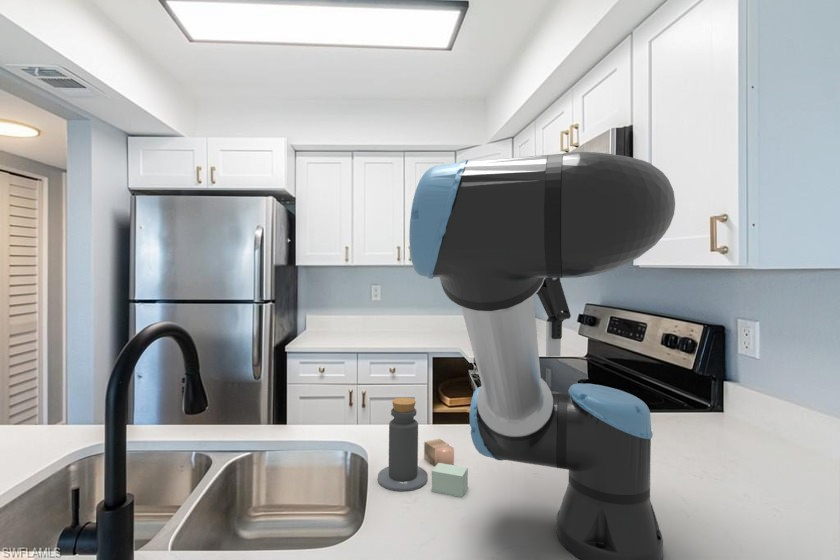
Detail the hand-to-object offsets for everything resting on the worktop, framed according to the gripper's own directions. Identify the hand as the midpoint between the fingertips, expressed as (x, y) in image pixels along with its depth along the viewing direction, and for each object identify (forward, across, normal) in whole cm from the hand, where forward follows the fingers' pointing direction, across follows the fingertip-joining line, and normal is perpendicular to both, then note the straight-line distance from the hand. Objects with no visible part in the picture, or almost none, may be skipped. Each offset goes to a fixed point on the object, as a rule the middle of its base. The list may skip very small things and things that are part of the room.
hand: (532, 350), depth 88 cm
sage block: (+26, +1, +17) cm, 32 cm away
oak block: (+26, +14, +15) cm, 33 cm away
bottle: (+26, +8, +25) cm, 36 cm away
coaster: (+26, +8, +25) cm, 37 cm away
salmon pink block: (+26, +8, +16) cm, 31 cm away
